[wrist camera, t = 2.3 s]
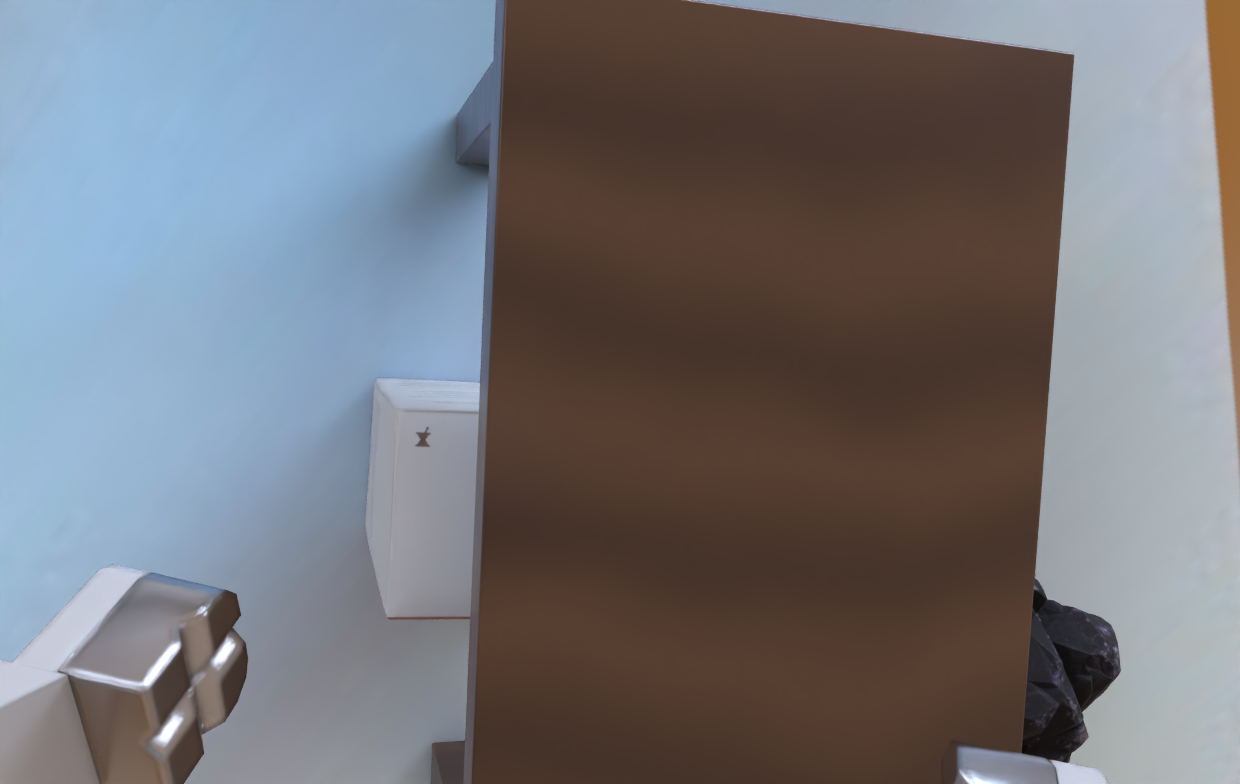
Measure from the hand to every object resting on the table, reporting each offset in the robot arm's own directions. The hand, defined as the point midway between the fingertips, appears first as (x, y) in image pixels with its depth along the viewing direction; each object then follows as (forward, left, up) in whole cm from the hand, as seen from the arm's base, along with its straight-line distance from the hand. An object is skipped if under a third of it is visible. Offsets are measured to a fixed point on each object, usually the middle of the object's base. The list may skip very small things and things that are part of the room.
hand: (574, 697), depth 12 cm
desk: (+2, +9, -32) cm, 34 cm away
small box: (+2, +3, -32) cm, 33 cm away
